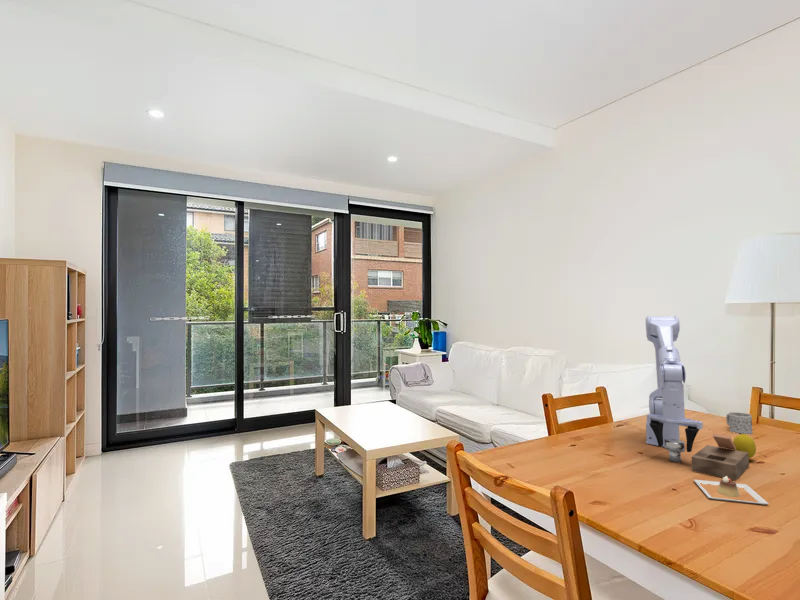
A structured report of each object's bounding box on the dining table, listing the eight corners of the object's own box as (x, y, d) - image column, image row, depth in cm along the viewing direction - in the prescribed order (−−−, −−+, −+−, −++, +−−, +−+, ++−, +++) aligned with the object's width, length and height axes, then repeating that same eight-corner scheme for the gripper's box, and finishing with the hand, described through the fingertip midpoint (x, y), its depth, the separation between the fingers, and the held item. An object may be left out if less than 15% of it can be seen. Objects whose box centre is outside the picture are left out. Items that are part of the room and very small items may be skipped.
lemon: (760, 463, 128) (759, 436, 128) (739, 462, 129) (738, 435, 130) (749, 457, 134) (748, 431, 134) (729, 456, 135) (728, 430, 135)
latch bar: (719, 447, 131) (719, 444, 132) (735, 450, 128) (735, 447, 129) (712, 436, 127) (713, 433, 128) (729, 438, 124) (729, 436, 125)
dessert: (747, 488, 112) (746, 470, 112) (769, 508, 100) (768, 487, 100) (693, 483, 116) (692, 465, 116) (708, 502, 104) (707, 482, 104)
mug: (757, 434, 158) (756, 416, 158) (738, 434, 158) (738, 416, 159) (736, 427, 168) (735, 410, 168) (719, 427, 168) (718, 410, 169)
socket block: (692, 470, 123) (691, 456, 123) (707, 458, 134) (707, 445, 134) (735, 480, 115) (735, 465, 116) (748, 466, 126) (748, 452, 126)
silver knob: (662, 460, 132) (661, 440, 132) (668, 456, 135) (667, 437, 135) (682, 465, 128) (681, 444, 128) (687, 461, 131) (686, 441, 131)
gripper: (642, 402, 135) (643, 445, 134) (697, 409, 124) (698, 457, 123) (650, 398, 140) (652, 441, 139) (704, 405, 129) (705, 451, 128)
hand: (674, 448), depth 132 cm, fingers open, 7 cm apart
